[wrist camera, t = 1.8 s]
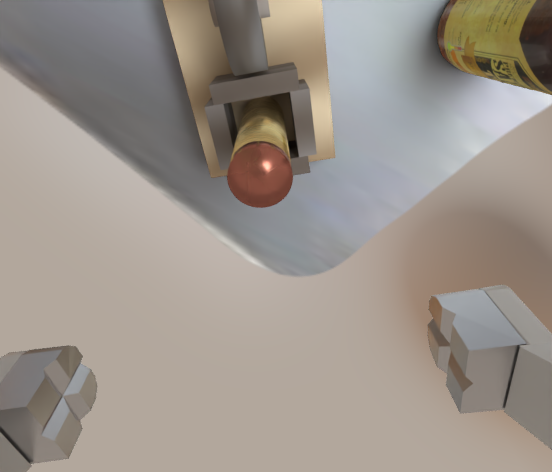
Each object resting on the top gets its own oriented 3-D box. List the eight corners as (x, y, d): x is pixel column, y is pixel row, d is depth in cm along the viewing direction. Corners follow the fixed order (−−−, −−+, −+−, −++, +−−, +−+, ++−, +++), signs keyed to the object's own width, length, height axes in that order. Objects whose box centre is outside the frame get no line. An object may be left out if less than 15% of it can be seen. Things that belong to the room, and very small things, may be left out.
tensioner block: (166, -37, 26) (106, -67, 16) (308, -66, 25) (332, -116, 16) (217, 161, 33) (196, 219, 24) (328, 142, 32) (352, 194, 23)
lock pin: (239, 99, 27) (220, 152, 16) (280, 92, 26) (287, 140, 16) (247, 140, 28) (235, 211, 18) (286, 133, 28) (296, 202, 18)
